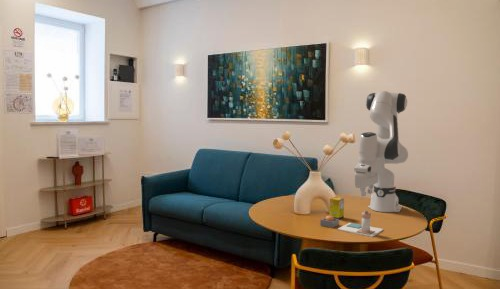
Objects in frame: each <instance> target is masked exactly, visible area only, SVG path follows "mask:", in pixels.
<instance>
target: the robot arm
mask: <svg viewBox="0 0 500 289" xmlns="http://www.w3.org/2000/svg"><path fill="white" fill-rule="evenodd" d="M365 105H366V109H367V110H368V111H369V118H370V119H371V121H372V122H373V123H374V124H376V132H373V131H371V132H369V131H368V132H362V133H360V136H359V140H358V158H357V163H356V165H355V166H354V167H353V168H354V169H353V171H354V186H355V188H356V189H359V191H360V192H361V194H360V196H361V197H366V196H367V194H371V197H370V203H369V205H368V206H367V207H368V208H369V209H371V210H372V211H376V212H379V213H380V212H381V213H400V211H401V210H402V208H403V205H401V204H399V197H398V195H397V194H396V188H397V186H395V173H394V172H393V171H391V170H390V169H388V168H386V167H385V165H386V164H388V165H389V164H392V165H395V164H396V165H398V164H403V163H405V162H406V161H407V160H408V158H409V151H408V150H407V148H406V147H405V146H404V145H403V144H402V143H401V142H400V141H399V123H398V115H399V114H401V113H402V112H404V111H405V110H406V109H407V106H408V98H407V96H406V94H405V93H401V92H399V93H395V92H389V91H388V90H387V91H386V90H381V91H378V92H371V93H370V94H368V95H367V97H366V100H365ZM367 187H368V189H367ZM366 189H367V192H366Z"/></svg>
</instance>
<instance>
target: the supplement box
mask: <svg viewBox="0 0 500 289" xmlns="http://www.w3.org/2000/svg"><path fill="white" fill-rule="evenodd" d="M344 209H345V198H344V197H338V196H333V197H331V198H329V216H333V217H334V218H335V219H339V220H340V219H343V218H344V214H345V213H344V212H345V210H344Z"/></svg>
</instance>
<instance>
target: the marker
mask: <svg viewBox="0 0 500 289" xmlns="http://www.w3.org/2000/svg"><path fill="white" fill-rule="evenodd" d="M361 225H362V232H370V227H371V212H369V211H368V210H364V211H362V212H361Z"/></svg>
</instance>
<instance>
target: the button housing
mask: <svg viewBox="0 0 500 289" xmlns="http://www.w3.org/2000/svg"><path fill="white" fill-rule="evenodd" d="M319 222H320V223H319V225H320V226H322V227H328V228H331V229H333V228H335V227H337V226H339V225H340V219H335V218H334V221H328V220H326V217H323V218H321V219H320V221H319Z"/></svg>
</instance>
